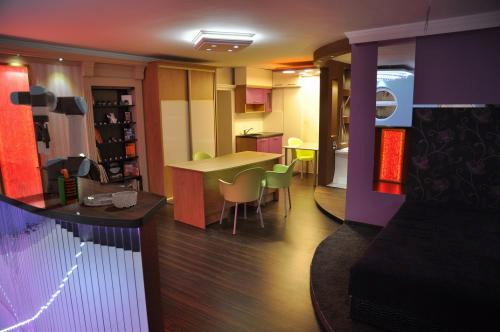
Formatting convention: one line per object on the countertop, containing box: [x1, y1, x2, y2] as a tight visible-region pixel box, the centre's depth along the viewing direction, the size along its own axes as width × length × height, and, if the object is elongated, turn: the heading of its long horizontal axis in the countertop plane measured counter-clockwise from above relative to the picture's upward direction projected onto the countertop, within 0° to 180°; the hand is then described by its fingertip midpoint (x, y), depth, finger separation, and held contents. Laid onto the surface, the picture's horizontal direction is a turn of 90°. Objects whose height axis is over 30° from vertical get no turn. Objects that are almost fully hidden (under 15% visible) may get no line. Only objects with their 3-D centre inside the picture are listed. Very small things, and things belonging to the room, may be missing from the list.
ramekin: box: [112, 190, 138, 209], centre depth 193 cm, size 13×13×7 cm
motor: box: [58, 169, 80, 206], centre depth 201 cm, size 10×9×20 cm
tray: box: [82, 193, 114, 207], centre depth 203 cm, size 20×20×3 cm
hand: (44, 153), depth 188 cm, fingers open, 13 cm apart
